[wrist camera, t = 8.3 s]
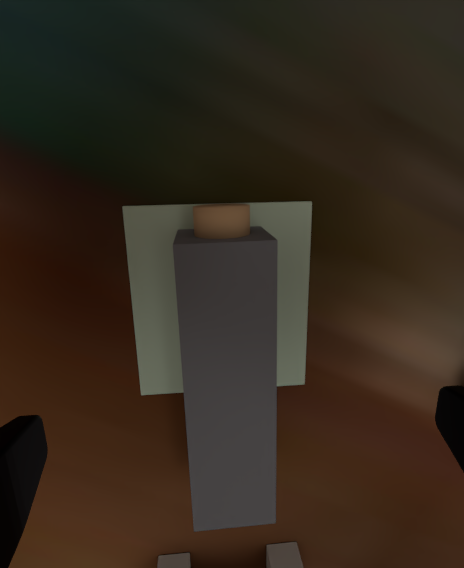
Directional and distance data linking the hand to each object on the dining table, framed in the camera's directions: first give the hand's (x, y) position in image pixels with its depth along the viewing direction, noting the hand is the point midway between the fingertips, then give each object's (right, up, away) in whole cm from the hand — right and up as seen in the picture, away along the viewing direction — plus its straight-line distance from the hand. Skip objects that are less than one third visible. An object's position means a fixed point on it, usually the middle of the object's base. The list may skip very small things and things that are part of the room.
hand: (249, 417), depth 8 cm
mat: (-1, +2, +11) cm, 11 cm away
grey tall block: (-1, -1, +12) cm, 12 cm away
